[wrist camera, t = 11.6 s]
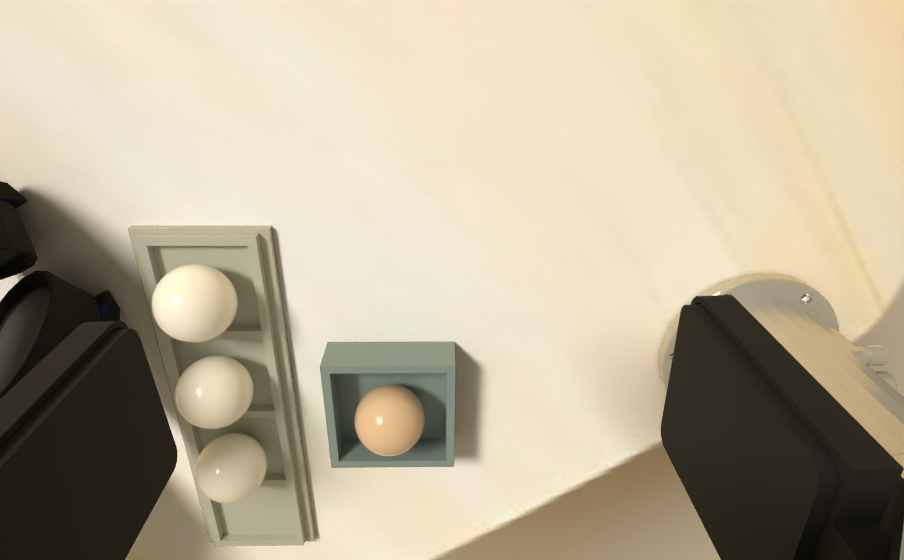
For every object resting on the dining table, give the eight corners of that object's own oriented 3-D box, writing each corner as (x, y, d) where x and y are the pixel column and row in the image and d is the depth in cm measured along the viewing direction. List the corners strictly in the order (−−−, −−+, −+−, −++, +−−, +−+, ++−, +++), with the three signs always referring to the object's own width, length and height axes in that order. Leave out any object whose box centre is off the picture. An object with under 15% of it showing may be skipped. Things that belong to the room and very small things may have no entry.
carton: (271, 226, 37) (266, 232, 36) (315, 535, 50) (312, 547, 49) (131, 225, 37) (122, 232, 36) (212, 536, 50) (207, 548, 49)
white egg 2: (256, 341, 40) (234, 384, 36) (266, 397, 43) (246, 444, 38) (186, 341, 40) (154, 384, 36) (199, 398, 42) (171, 445, 38)
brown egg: (426, 370, 42) (422, 415, 37) (426, 423, 44) (423, 472, 39) (358, 369, 42) (346, 414, 37) (362, 422, 44) (351, 471, 39)
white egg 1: (241, 251, 37) (214, 286, 33) (252, 317, 39) (229, 358, 35) (164, 251, 37) (127, 286, 33) (180, 317, 39) (147, 358, 35)
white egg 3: (270, 418, 43) (250, 467, 39) (278, 467, 46) (261, 518, 41) (204, 419, 43) (177, 467, 39) (215, 467, 46) (191, 519, 41)
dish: (454, 341, 41) (455, 365, 39) (453, 438, 45) (453, 466, 43) (327, 342, 41) (319, 366, 38) (337, 439, 45) (331, 467, 42)
